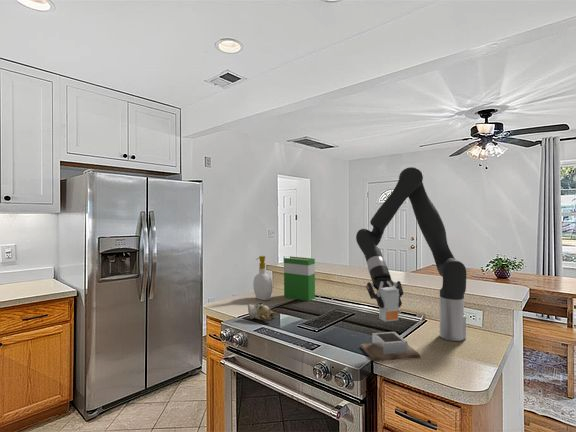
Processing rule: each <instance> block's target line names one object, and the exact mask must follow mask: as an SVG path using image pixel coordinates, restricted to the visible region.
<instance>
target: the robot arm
mask: <svg viewBox="0 0 576 432" xmlns="http://www.w3.org/2000/svg"><path fill="white" fill-rule="evenodd" d="M423 179H424V175H423V172H422V170H420V169H419V168H417V167H413V166H410V167H409V166H408V167H406V168H404V169H403V170H402V171H401V172H400V173H399V175H398V181H397V183H396V185H395V186H394V188H393V190H392V192H391V193H390V195H389V196H388V198H386V200H385V201H384V202H383V203H382V204H381V205H380V207H379V208H378V209H377V211H376V212H375V213H374V215H373V217H371V219H370V223H369V224H370V225H371V226H372V230H369V229H367V228H361V229H359V230H358V231H357V233H356V237H355V238H356V239H355V240H356V244H357V245H358V247H359V249H360V250H361V252H362V253H363V255H364V259H365V261H366V265H367V270H368V273H369V275H370V279H371V282H369V281H368V282H367V283H366V286H365V288H366V290H367V293H368V294H369V297H370V299H372V300H374V299H375V300H376V302H377V306H378V308H379V307H380V308H383V307H384V304H383V301H382V298H381V297H380V295H381V294H380V288H385V287H394V288H397V289H399V309H400V308H401V306H402V304H403V302H402V299H401V298H402V296H403V295H404V291H403V286H402V283H401V281H400V280H397V281H394V280H392V277H391V274H390V271H389V268H388V266H387V263H386V260H385V258H384V257H383V253H382V250H381V249H380V248H379V246H378V245H379V244H380V242H381V241H382V237H383V235H384V232H385V229H386V228H387V226H388V225H389V224H390V222H391V221H392V219H393V218H394V217H395V215H396V214H397V212H398V211H399V209H400V208H401V206H402V205H403V203H404V202H405V201H406V200H407V198H408V199H409V201H410V204H411V207H412V210H413V213H414V216H415V219H416V222H417V225H418V227H419V229H420V232H421V234H422V236H423V238H424V240H425V242H426V244H427V246H428V247H429V250H430V251H431V253H432V254H431V255H432V257H433V259H434V263H435V266H436V269H437V272H438V274H439V275H440V276H441V277H442V287H441V288H440V289H439V337H440V338H442V339H444V340H446V341H451V342H461V341H463V340H467V316H466V315H465V311H464V310H465V307H464V306H465V293H466V291H467V269H466V266H465V264H464V263H463V262H462V261H460V260H457V259H456V258H455V256H454V254H453V253H452V251H451V249H450V246H449V244H448V238H447V231H446V228H445V224H444V222H443V220H442V218H441V215H440V214H439V211H438V210H437V208H436V206H435V205H434V203H433V202H432V201H431V199H430V198H429V195H428V194H427V191H426V189H425V186H424V182H423ZM373 288H374V289H375V290H376V293H375V290H374V289H373Z"/></svg>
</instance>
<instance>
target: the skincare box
mask: <svg viewBox="0 0 576 432" xmlns="http://www.w3.org/2000/svg"><path fill="white" fill-rule="evenodd" d="M380 294H381V295H380V297H381V298H382V301H383V304H384V307H383V308H380V307H379V306H378V308H379V309H378V311H379V314H378V315H379V316H378V318H379V319H380V320H382V322H385V323H386V322H392V321H393V322H394V321H399V309H400V308H399V289H397V288H395V286H393V287H385V288H380Z"/></svg>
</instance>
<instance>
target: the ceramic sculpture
mask: <svg viewBox="0 0 576 432" xmlns="http://www.w3.org/2000/svg"><path fill="white" fill-rule="evenodd" d="M247 311H248V312H247V313H248V315H249V319H251V320H255V319H257V320H259V321H260V320H261V321H264V322H272V321H273V319H272V318H273V317H275V316H278V315H280V314H279V313H280V312H277V313H276V312H274V311H272V310H271V308H270V307H269V305H266V304H264V303H262V302H259V303H257V304H256V305H254V304H250V303H248V304H247Z"/></svg>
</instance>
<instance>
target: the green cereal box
mask: <svg viewBox="0 0 576 432" xmlns="http://www.w3.org/2000/svg"><path fill="white" fill-rule="evenodd" d="M315 261H316V259H315V258H310V257H303V256H302V257H301V256H300V257H299V256H292V255H291V256H289V258H288V257H283V291H284V292H283V298H289V299H295V300H300V301H306V302H309V301H312V300H314V299H315V298H316V270H315V269H316V267H315V266H316V265H315V263H316V262H315Z"/></svg>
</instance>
